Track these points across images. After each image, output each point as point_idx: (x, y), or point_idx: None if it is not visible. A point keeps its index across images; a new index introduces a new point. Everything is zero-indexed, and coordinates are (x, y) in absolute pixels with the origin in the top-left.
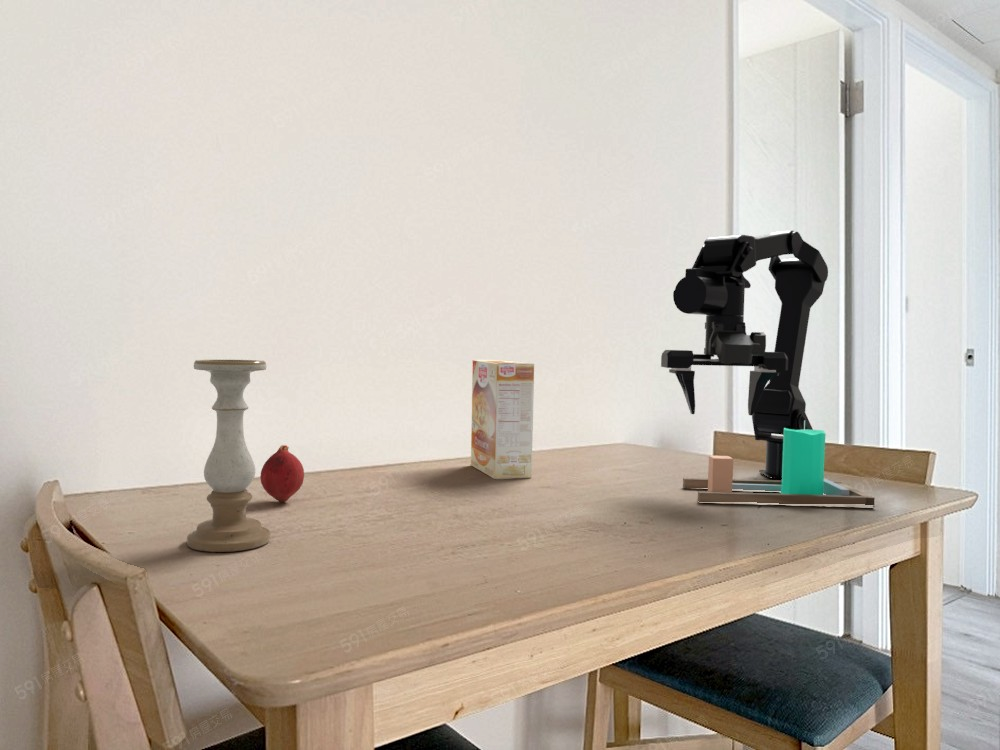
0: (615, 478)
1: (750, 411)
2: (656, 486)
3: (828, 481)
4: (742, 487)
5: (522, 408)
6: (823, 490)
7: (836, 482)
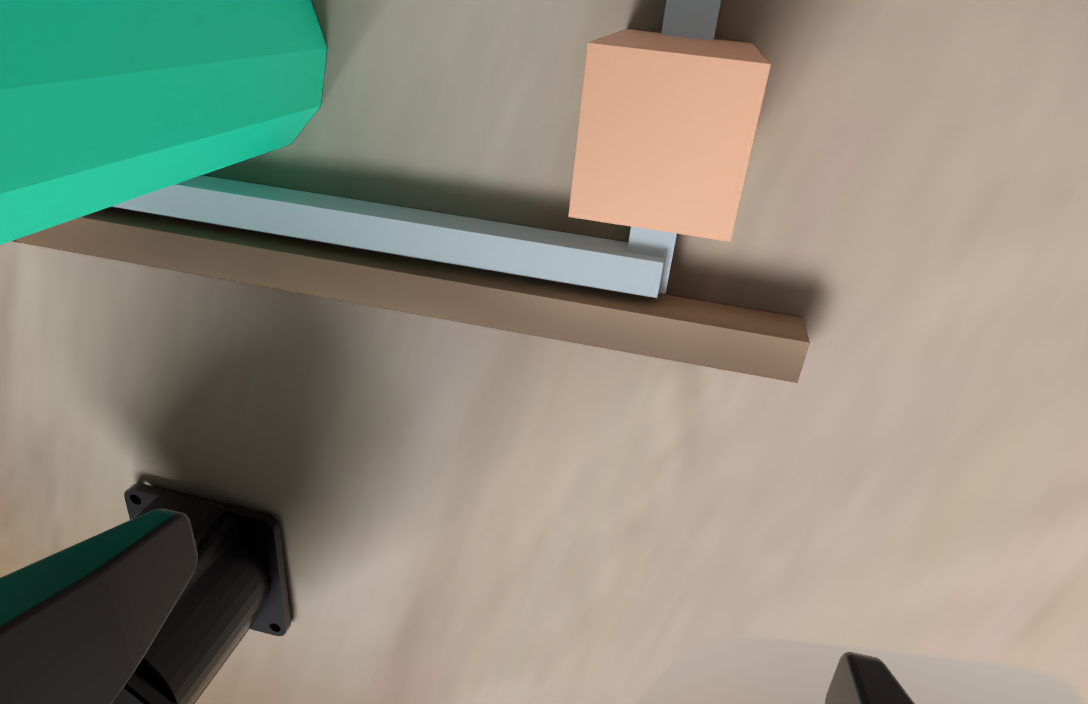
0: (1064, 611)
1: (158, 541)
2: (937, 398)
3: None
4: (489, 228)
5: None
6: None
7: None
